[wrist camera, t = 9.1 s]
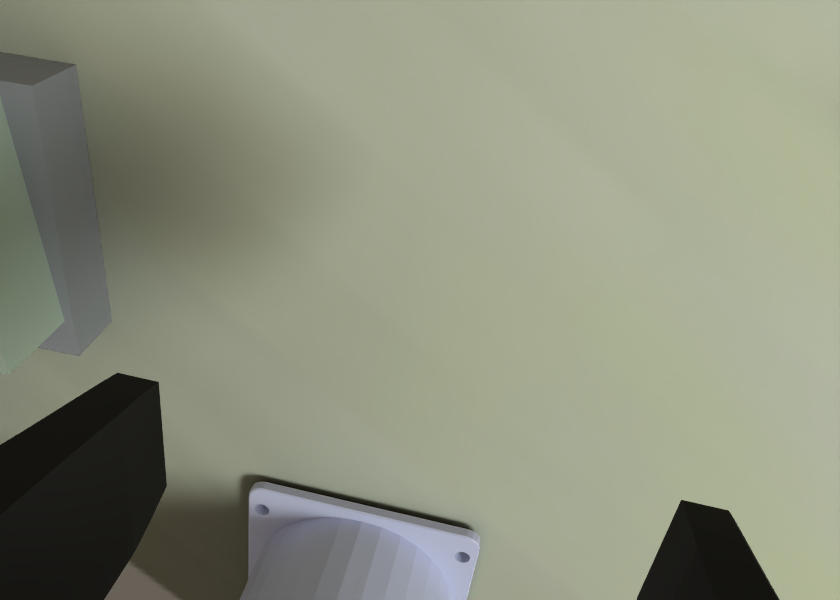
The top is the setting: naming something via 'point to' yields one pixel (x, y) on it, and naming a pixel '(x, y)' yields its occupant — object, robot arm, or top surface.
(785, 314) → the top surface
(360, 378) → the top surface
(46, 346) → the base tile
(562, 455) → the top surface
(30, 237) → the top tile
